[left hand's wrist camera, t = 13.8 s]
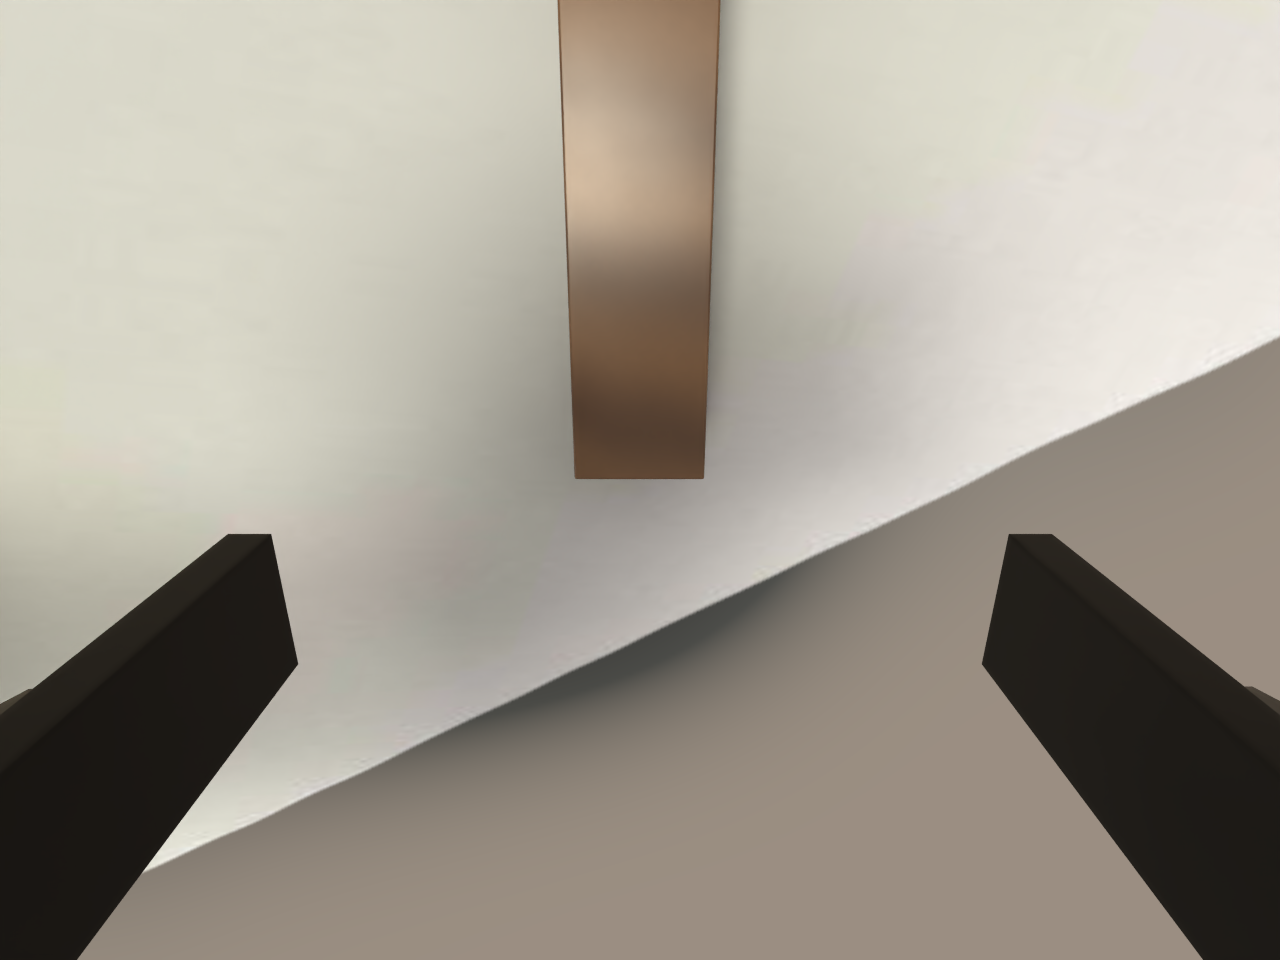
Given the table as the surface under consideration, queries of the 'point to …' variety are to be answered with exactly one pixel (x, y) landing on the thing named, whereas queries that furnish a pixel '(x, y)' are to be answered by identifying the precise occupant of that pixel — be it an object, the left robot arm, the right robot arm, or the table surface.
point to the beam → (639, 230)
